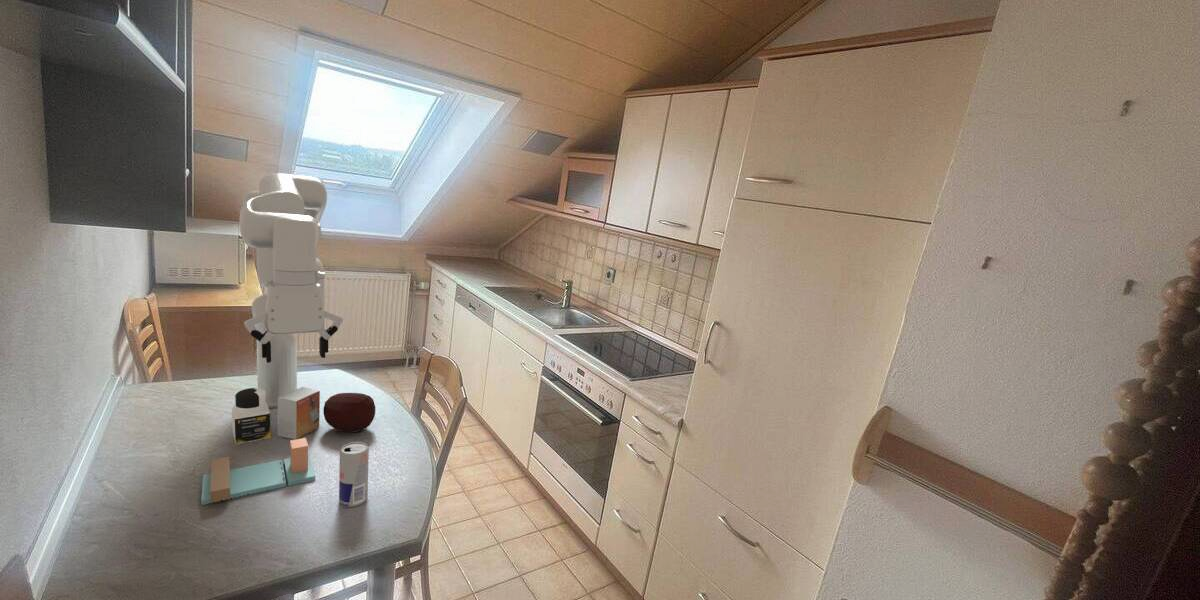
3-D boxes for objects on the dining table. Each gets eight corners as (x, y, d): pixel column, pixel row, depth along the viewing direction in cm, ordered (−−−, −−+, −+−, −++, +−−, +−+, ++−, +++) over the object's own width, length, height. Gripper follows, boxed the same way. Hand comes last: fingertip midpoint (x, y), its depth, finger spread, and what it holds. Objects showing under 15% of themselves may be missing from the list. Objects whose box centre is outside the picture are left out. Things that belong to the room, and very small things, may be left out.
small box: (296, 440, 121) (295, 401, 119) (277, 436, 122) (276, 397, 120) (320, 427, 128) (320, 390, 126) (302, 422, 129) (302, 386, 127)
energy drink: (340, 494, 102) (340, 442, 100) (368, 490, 105) (369, 440, 102) (337, 509, 98) (338, 455, 95) (366, 505, 100) (368, 453, 97)
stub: (283, 463, 111) (283, 435, 109) (309, 458, 114) (309, 431, 112) (288, 485, 103) (288, 456, 102) (315, 479, 106) (315, 451, 105)
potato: (337, 417, 134) (338, 382, 132) (383, 424, 134) (384, 389, 132) (312, 436, 124) (312, 398, 122) (361, 443, 123) (362, 405, 121)
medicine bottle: (235, 445, 115) (233, 398, 113) (232, 432, 121) (230, 388, 118) (271, 438, 120) (270, 393, 118) (266, 426, 125) (265, 383, 123)
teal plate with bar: (203, 475, 103) (202, 461, 102) (281, 460, 112) (281, 447, 111) (201, 509, 93) (200, 493, 92) (286, 490, 102) (286, 475, 101)
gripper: (339, 275, 106) (339, 349, 109) (242, 275, 96) (244, 357, 99) (346, 281, 100) (345, 359, 103) (243, 281, 90) (245, 368, 93)
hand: (296, 358), depth 101 cm, fingers open, 9 cm apart
